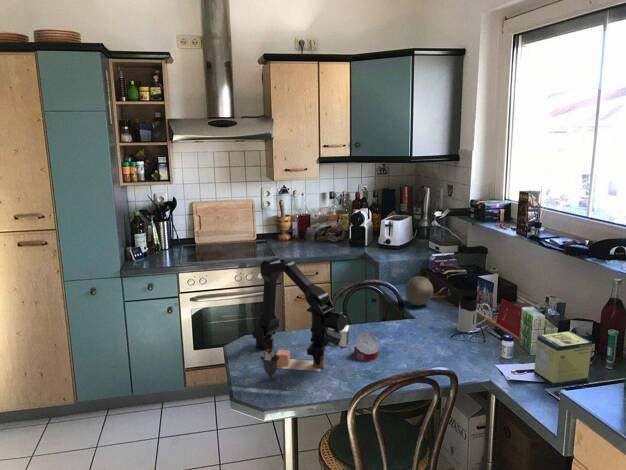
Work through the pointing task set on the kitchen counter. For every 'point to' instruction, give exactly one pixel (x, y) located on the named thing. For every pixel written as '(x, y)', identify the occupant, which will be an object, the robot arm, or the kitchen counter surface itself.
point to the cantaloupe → (419, 290)
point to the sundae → (270, 362)
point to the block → (283, 357)
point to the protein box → (562, 358)
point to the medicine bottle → (344, 336)
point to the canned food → (366, 347)
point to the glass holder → (468, 313)
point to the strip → (305, 364)
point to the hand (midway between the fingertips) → (319, 362)
